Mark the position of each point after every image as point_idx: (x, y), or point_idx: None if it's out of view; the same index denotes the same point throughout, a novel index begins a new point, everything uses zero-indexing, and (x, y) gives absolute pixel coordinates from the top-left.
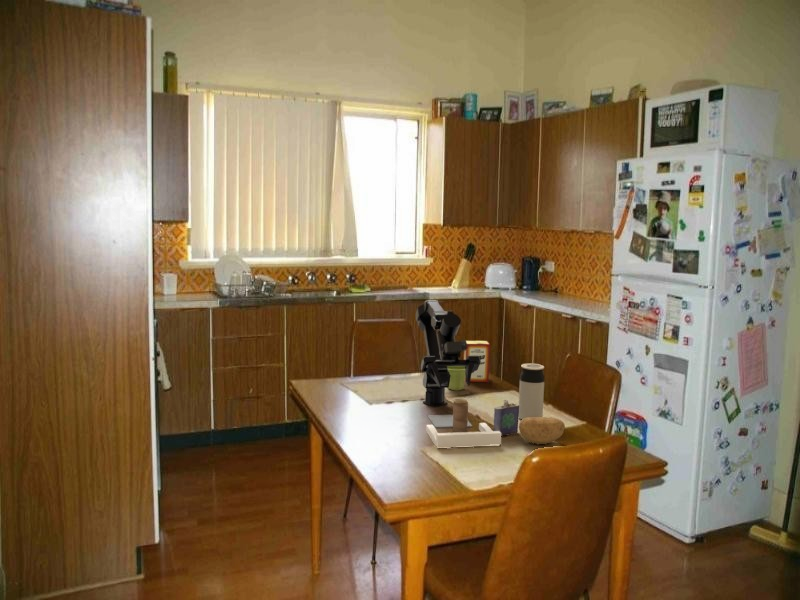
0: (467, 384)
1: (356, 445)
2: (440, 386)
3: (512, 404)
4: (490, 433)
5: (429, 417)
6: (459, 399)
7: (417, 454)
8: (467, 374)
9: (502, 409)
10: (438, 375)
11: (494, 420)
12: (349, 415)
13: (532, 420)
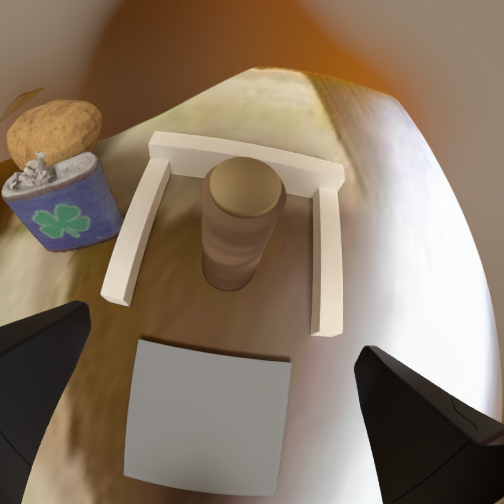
0: (81, 336)
1: (469, 263)
2: (363, 353)
3: (13, 188)
4: (186, 134)
5: (276, 473)
6: (249, 196)
7: (373, 179)
8: (9, 376)
9: (76, 156)
10: (434, 402)
11: (109, 194)
12: None
13: (74, 101)
